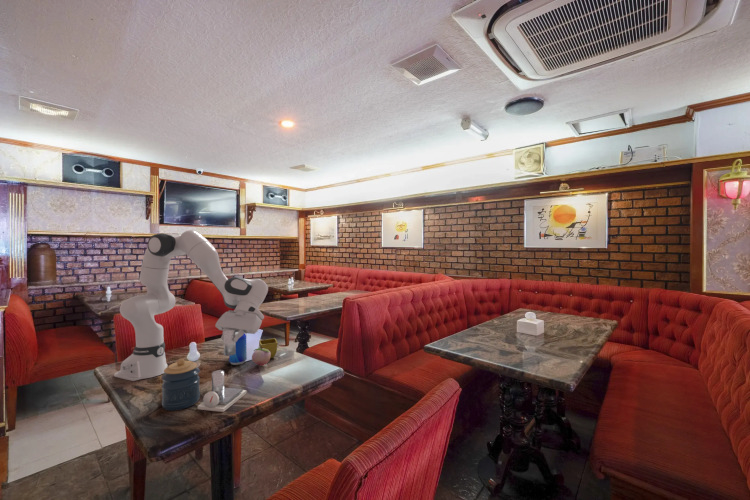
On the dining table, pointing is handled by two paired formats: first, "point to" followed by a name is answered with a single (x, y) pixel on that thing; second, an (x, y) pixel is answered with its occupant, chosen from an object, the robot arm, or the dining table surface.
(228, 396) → the grey square plate
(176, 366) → the canister
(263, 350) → the decorative fruit
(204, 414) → the dining table surface
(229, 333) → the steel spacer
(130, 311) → the robot arm
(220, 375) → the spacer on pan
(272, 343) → the flower pot
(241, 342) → the beer can
